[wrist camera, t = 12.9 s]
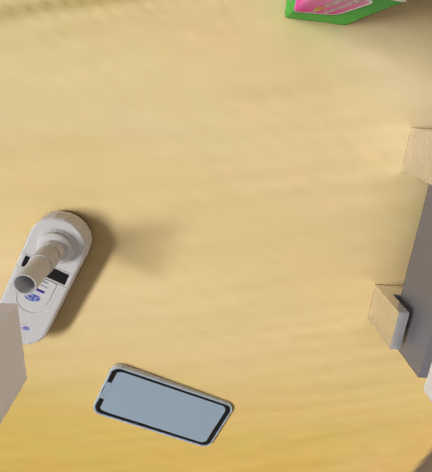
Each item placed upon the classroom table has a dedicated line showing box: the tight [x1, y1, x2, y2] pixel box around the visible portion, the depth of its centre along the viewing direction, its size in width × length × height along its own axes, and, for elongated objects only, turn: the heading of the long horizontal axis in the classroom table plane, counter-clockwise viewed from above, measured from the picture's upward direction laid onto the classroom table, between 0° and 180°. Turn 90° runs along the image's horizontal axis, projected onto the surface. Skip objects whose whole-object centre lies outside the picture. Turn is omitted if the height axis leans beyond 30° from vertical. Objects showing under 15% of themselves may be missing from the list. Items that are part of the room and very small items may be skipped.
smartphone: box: [93, 364, 232, 446], centre depth 47 cm, size 7×1×15 cm
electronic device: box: [0, 211, 92, 344], centre depth 37 cm, size 5×10×15 cm
